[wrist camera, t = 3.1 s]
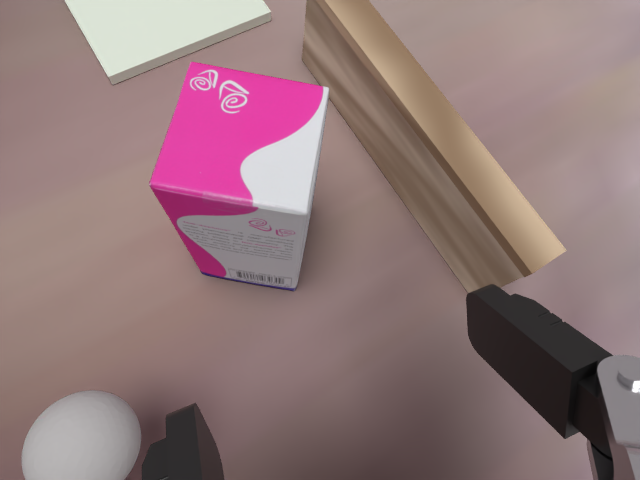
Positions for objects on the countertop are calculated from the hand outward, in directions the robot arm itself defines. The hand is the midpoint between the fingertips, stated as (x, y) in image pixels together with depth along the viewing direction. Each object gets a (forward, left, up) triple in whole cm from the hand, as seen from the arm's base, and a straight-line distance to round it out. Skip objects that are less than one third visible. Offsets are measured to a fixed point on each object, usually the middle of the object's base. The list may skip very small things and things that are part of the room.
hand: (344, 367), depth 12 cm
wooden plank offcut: (+12, +9, -13) cm, 19 cm away
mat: (+5, +29, -13) cm, 32 cm away
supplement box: (+2, +9, -13) cm, 16 cm away
